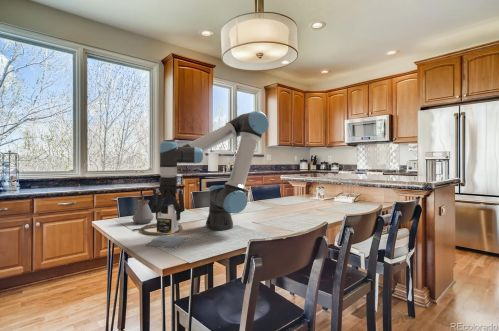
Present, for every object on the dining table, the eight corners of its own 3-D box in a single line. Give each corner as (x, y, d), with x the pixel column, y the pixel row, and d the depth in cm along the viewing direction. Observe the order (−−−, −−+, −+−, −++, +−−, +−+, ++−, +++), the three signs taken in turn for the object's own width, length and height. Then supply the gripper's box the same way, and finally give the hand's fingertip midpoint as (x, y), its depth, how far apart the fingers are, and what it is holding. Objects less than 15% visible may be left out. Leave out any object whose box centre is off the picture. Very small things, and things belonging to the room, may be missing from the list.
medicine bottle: (156, 233, 123) (156, 206, 123) (164, 229, 130) (164, 203, 130) (171, 234, 122) (171, 207, 121) (178, 230, 129) (178, 204, 128)
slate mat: (188, 238, 132) (188, 237, 132) (176, 247, 118) (176, 246, 118) (160, 236, 134) (160, 235, 134) (145, 245, 120) (145, 244, 120)
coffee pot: (154, 224, 159) (154, 197, 158) (132, 225, 154) (132, 198, 154) (152, 216, 178) (152, 192, 178) (133, 217, 174) (133, 193, 174)
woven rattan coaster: (187, 225, 155) (187, 223, 155) (172, 236, 135) (172, 233, 135) (153, 224, 158) (153, 222, 158) (132, 233, 138) (132, 231, 138)
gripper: (192, 176, 127) (192, 226, 128) (151, 175, 130) (151, 223, 131) (186, 177, 120) (186, 230, 121) (142, 176, 123) (142, 227, 124)
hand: (167, 226), depth 126 cm, fingers closed on medicine bottle, 7 cm apart
